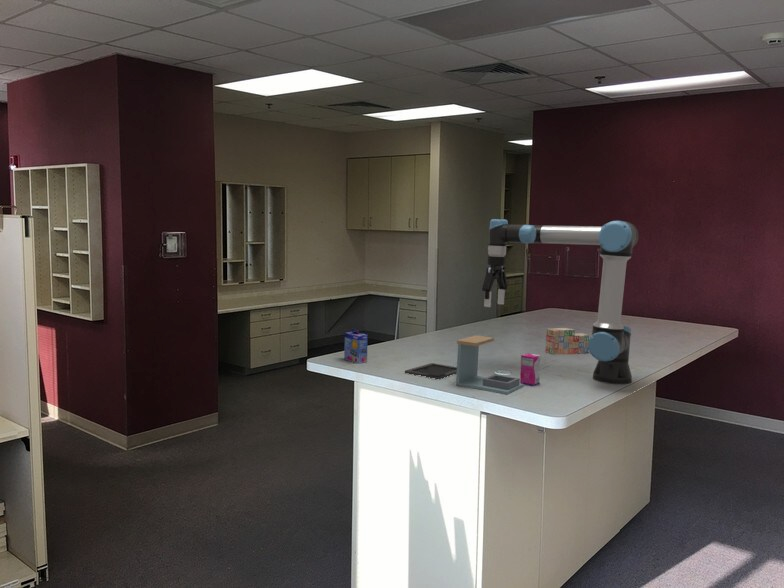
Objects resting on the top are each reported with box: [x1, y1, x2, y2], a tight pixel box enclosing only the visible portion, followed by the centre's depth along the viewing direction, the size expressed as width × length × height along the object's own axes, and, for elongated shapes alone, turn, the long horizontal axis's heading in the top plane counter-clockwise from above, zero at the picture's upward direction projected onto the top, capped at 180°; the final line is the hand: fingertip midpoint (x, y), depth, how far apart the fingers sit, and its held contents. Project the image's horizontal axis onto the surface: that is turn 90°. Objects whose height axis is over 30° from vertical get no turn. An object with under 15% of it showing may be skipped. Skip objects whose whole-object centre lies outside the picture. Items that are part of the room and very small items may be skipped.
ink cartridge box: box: [343, 328, 369, 364], centre depth 288 cm, size 10×6×14 cm, turn 44°
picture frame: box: [404, 362, 457, 380], centre depth 273 cm, size 16×2×21 cm
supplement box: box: [519, 353, 541, 387], centre depth 258 cm, size 6×6×12 cm
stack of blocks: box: [545, 327, 590, 356], centre depth 327 cm, size 21×6×12 cm, turn 112°
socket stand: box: [455, 335, 525, 395], centre depth 252 cm, size 22×16×17 cm
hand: (494, 305), depth 282 cm, fingers open, 13 cm apart
